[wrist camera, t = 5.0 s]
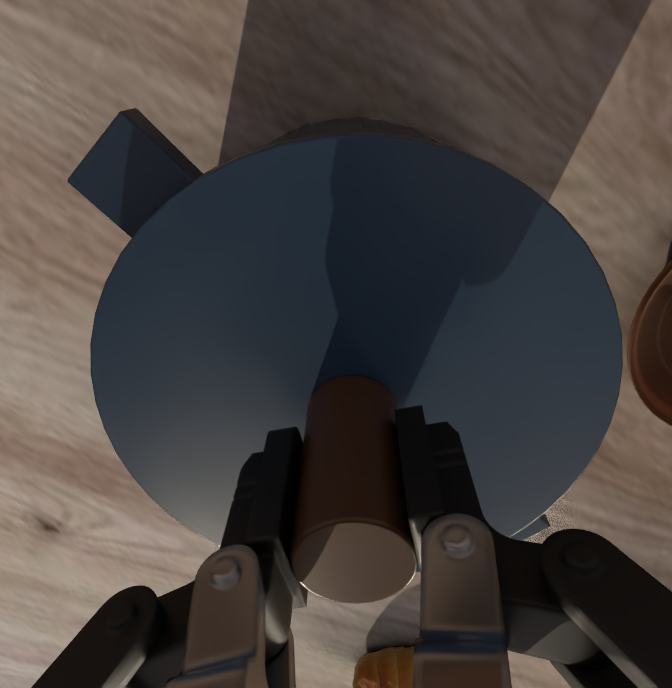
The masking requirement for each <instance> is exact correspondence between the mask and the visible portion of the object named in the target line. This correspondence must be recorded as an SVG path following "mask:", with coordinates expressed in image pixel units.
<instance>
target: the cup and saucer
mask: <svg viewBox="0 0 672 688" xmlns="http://www.w3.org/2000/svg"><path fill="white" fill-rule="evenodd" d="M627 361H628V369H629V373H630V377H631V380H632V382H633V385H634V388H635V390H636V392H637V394H638V395H639V397H640V399H641V400H642V402H643V403H644V404H645V406H646V407H647V408H648V409H649V410H650V411H651V412H652V413H653V414H654V415H655V416H657V417H658V418H659V419H661V420H662V421H664V422H665V423H667V424H669V425H671V426H672V260H671V261H670V262H669V263H668V265H667V266H666V267H665V268H664V269H663V270H662V272H661V273H660V274H659V275H658V277H657V278H656V279H655V281H654V282H653V283H652V285H651V286H650V288H649V289H648V291H647V293H646V294H645V296H644V297H643V299H642V301H641V303H640V305H639V307H638V309H637V312H636V314H635V317H634V319H633V322H632V326H631V329H630V333H629V339H628V346H627Z"/></svg>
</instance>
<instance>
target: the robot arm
mask: <svg viewBox="0 0 672 688" xmlns="http://www.w3.org/2000/svg"><path fill="white" fill-rule="evenodd" d="M394 412H395V420H396V428H397V435H398V443H399V451H400V459H401V467H402V474H403V482H404V490H405V498H406V505H407V513H408V520H409V525H410V529H411V533H412V538H413V542H414V546H415V551H416V555H417V559H418V563H419V568H420V572H421V599H420V634H419V638H416V640H415V644H414V654H413V685H412V688H512V685H511V677H510V669H509V661H508V653H507V650H509V651H513V652H517V653H521V654H525V655H530V656H534V657H538V658H542V659H547V660H550V662H551V663H552V665H553V666H554V667H555V668H556V670H557V671H558V672H559V673H560V674H561V676H562V677H563V678H564V679H565V680H566V681H567V683H568V684H569V685H570V686H571V687H572V688H672V592H671V591H670V590H669V589H668V588H666V587H665V586H664V585H663V584H661V583H660V582H659V581H658V580H656V579H655V578H654V577H653V576H652V575H650V574H649V573H648V572H647V571H645V570H644V569H643V568H642V567H640V566H639V565H638V564H637V563H635V562H634V561H633V560H632V559H630V558H629V557H628V556H627V555H625V554H624V553H623V552H622V551H620V550H619V549H618V548H617V547H616V546H614V545H613V544H612V543H611V542H609V541H608V540H606V539H605V538H603V537H602V536H600V535H598V534H595V533H593V532H590V531H586V530H581V529H566V530H561V531H558V532H555V533H553V534H551V535H550V536H549V537H547V538H546V539H545V541H544V542H543V544H540V543H533V542H526V541H520V540H515V539H512V538H509V537H507V536H505V535H502V534H501V533H499V532H498V531H496V530H495V529H494V528H492V527H491V526H490V525H489V523H488V522H487V521H486V519H485V518H484V516H483V513H482V510H481V507H480V503H479V500H478V497H477V493H476V490H475V486H474V483H473V480H472V476H471V473H470V469H469V466H468V463H467V459H466V456H465V452H464V449H463V446H462V442H461V439H460V435H459V433H458V432H457V431H456V430H455V429H454V428H453V427H452V426H451V425H450V424H449V423H448V422H447V421H445V422H439V423H433V424H427V425H426V422H425V417H424V412H423V407H422V405H419V406H413V407H407V408H401V409H395V410H394ZM302 448H303V440H302V437H301V434H300V432H299V429H298V428H297V427H296V426H295V427H290V428H284V429H278V430H272V431H269V432H268V434H267V438H266V442H265V447H264V452H258V453H252V454H251V456H250V457H249V458H248V460H247V461H246V462H245V464H244V465H243V467H242V468H241V470H240V474H239V478H238V482H237V488H236V489H235V493H234V497H233V498H234V501H232V504H231V508H230V512H229V516H228V519H227V523H226V527H225V531H224V535H223V538H222V542H221V546H220V549H219V550H217V551H216V552H214V553H213V554H212V555H210V556H209V557H208V558H207V559H206V560H205V561H204V562H203V564H202V565H201V566H200V568H199V570H198V572H197V574H196V577H195V580H194V581H193V582H191V583H189V584H187V585H185V586H183V587H180V588H178V589H176V590H173V591H171V592H169V593H167V594H164V595H162V596H160V597H157V596H156V594H155V593H154V591H153V590H152V589H150V588H149V587H146V586H132V587H129V588H126V589H124V590H122V591H120V592H118V593H117V594H115V595H114V596H112V597H111V598H110V599H109V600H107V601H106V602H105V603H104V604H103V605H102V607H101V608H100V609H99V610H98V611H97V612H96V613H95V615H94V616H93V617H92V618H91V619H90V620H89V622H88V623H87V624H86V625H85V626H84V627H83V628H82V630H81V631H80V632H79V633H78V634H77V635H76V637H75V638H74V639H73V640H72V641H71V642H70V643H69V645H68V646H67V647H66V648H65V649H64V650H63V652H62V653H61V654H60V655H59V656H58V657H57V659H56V660H55V661H54V662H53V663H52V664H51V665H50V667H49V668H48V669H47V670H46V671H45V672H44V674H43V675H42V676H41V677H40V678H39V679H38V680H37V682H36V683H35V684H34V685H33V686H32V687H31V688H125V687H126V688H296V681H295V657H294V638H293V633H292V630H291V628H290V623H291V613H292V608H301V607H306V605H307V593H308V590H307V589H306V588H305V587H303V586H302V585H301V584H300V583H299V581H298V580H297V579H296V577H295V576H294V574H293V571H292V568H291V565H290V559H289V557H290V547H291V539H292V531H293V523H294V514H295V506H296V498H297V490H298V481H299V473H300V465H301V456H302Z"/></svg>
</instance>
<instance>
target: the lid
mask: <svg viewBox="0 0 672 688" xmlns="http://www.w3.org/2000/svg"><path fill="white" fill-rule="evenodd" d="M622 367H623V360H622V333H621V328H620V323H619V318H618V313H617V309H616V304H615V301H614V298H613V295H612V293H611V290H610V288H609V285H608V283H607V280H606V277H605V275H604V272H603V270H602V269H601V267H600V265H599V264H598V262H597V260H596V259H595V257H594V255H593V254H592V252H591V250H590V249H589V247H588V245H587V244H586V242H585V241H584V240H583V238H582V237H581V236H580V235H579V234H578V233H577V231H576V230H575V229H574V228H573V227H572V225H571V224H570V223H569V222H568V221H567V220H566V218H565V217H564V216H563V215H562V214H561V213H560V212H559V211H558V210H557V209H555V208H554V207H553V206H552V205H551V204H550V203H548V202H547V201H546V200H545V199H544V198H542V197H541V196H540V195H539V194H538V193H537V192H535V191H534V190H533V189H532V188H531V187H529V186H528V185H526V184H525V183H523V182H521V181H520V180H518V179H517V178H515V177H513V176H512V175H510V174H508V173H507V172H505V171H503V170H502V169H500V168H499V167H497V166H495V165H494V164H492V163H490V162H488V161H485V160H483V159H480V158H478V157H476V156H473V155H471V154H469V153H466V152H464V151H461V150H459V149H457V148H454V147H451V146H447V145H444V144H440V143H436V142H432V141H428V140H424V139H420V138H416V137H412V136H404V135H395V134H386V133H377V132H341V133H323V134H317V135H311V136H305V137H300V138H294V139H288V140H283V141H280V142H277V143H274V144H271V145H268V146H265V147H261V148H258V149H255V150H252V151H249V152H246V153H243V154H241V155H239V156H237V157H235V158H233V159H231V160H229V161H227V162H225V163H223V164H221V165H219V166H217V167H215V168H213V169H211V170H209V171H207V172H206V173H204V174H203V175H201V176H200V177H199V178H197V179H196V180H194V181H193V182H191V183H190V184H189V185H187V186H186V187H184V188H183V189H181V190H180V191H179V192H177V193H176V194H174V195H173V196H172V197H170V198H169V199H168V200H167V201H166V202H165V203H164V204H163V205H162V206H161V207H160V208H159V209H158V210H157V211H156V212H155V213H154V214H153V215H152V216H150V217H149V218H148V219H147V220H146V221H145V222H144V223H143V224H142V225H141V227H140V228H139V229H138V231H137V232H136V233H135V235H134V236H133V237H132V239H131V240H130V241H129V243H128V244H127V245H126V247H125V248H124V249H123V251H122V252H121V254H120V255H119V257H118V259H117V261H116V263H115V265H114V267H113V269H112V271H111V273H110V275H109V276H108V278H107V280H106V282H105V285H104V288H103V291H102V294H101V297H100V300H99V303H98V306H97V309H96V312H95V318H94V325H93V331H92V338H91V377H92V383H93V389H94V395H95V401H96V405H97V408H98V411H99V414H100V417H101V420H102V423H103V426H104V429H105V431H106V433H107V435H108V437H109V439H110V441H111V443H112V445H113V447H114V449H115V451H116V453H117V455H118V456H119V458H120V459H121V461H122V462H123V464H124V465H125V467H126V468H127V470H128V471H129V473H130V474H131V476H132V477H133V478H134V479H135V480H136V481H137V483H138V484H139V485H140V486H141V487H142V488H143V490H144V491H145V492H146V493H147V494H148V495H149V496H150V497H151V498H152V499H153V500H154V501H155V502H156V503H157V504H158V505H159V506H160V507H162V508H163V509H164V510H165V511H166V512H167V513H168V514H169V515H171V516H172V517H173V518H175V519H176V520H177V521H179V522H180V523H181V524H183V525H184V526H186V527H187V528H188V529H190V530H191V531H193V532H194V533H196V534H198V535H200V536H201V537H203V538H205V539H206V540H208V541H210V542H211V543H213V544H215V545H217V546H219V547H220V546H221V542H222V538H223V535H224V531H225V527H226V523H227V519H228V516H229V512H230V508H231V504H232V501H234V498H233V497H234V493H235V489H236V488H237V482H238V478H239V474H240V470H241V468H242V467H243V465H244V464H245V462H246V461H247V460H248V458H249V457H250V456H251V454H252V453H258V452H264V447H265V442H266V438H267V434H268V432H269V431H272V430H278V429H284V428H290V427H295V426H296V427H297V428H298V429H299V432H300V434H301V437H302V440H303V448H302V456H301V465H300V473H299V481H298V490H297V498H296V506H295V514H294V523H293V531H292V539H291V547H290V557H289V559H290V565H291V568H292V571H293V574H294V576H295V577H296V579H297V580H298V581H299V583H300V584H301V585H302V586H303V587H305V588H306V589H307V590H309V591H310V592H312V593H314V594H315V595H318V596H320V597H322V598H325V599H328V600H332V601H335V602H341V603H369V602H374V601H378V600H382V599H385V598H388V597H390V596H392V595H394V594H396V593H398V592H399V591H401V590H402V589H403V588H405V587H406V586H407V585H408V584H409V583H410V582H411V580H412V579H413V577H414V575H415V573H416V572H420V568H419V563H418V559H417V555H416V551H415V546H414V542H413V538H412V533H411V529H410V525H409V520H408V513H407V505H406V498H405V490H404V482H403V474H402V467H401V459H400V451H399V443H398V435H397V428H396V420H395V412H394V410H395V409H401V408H407V407H413V406H419V405H422V407H423V412H424V417H425V422H426V425H427V424H433V423H439V422H445V421H447V422H448V423H449V424H450V425H451V426H452V427H453V428H454V429H455V430H456V431H457V432H458V433H459V435H460V439H461V442H462V446H463V449H464V452H465V456H466V459H467V463H468V466H469V469H470V473H471V476H472V480H473V483H474V486H475V490H476V493H477V497H478V500H479V503H480V507H481V510H482V513H483V516H484V518H485V519H486V521H487V522H488V523H489V525H490V526H491V527H492V528H494V529H495V530H496V531H498V532H499V533H501V534H502V535H505V536H507V537H511V536H512V535H514V534H516V533H517V532H519V531H521V530H522V529H524V528H525V527H527V526H528V525H529V524H531V523H532V522H533V521H535V520H536V519H537V518H539V517H540V516H541V515H543V514H544V513H545V512H546V511H547V510H549V509H550V508H551V507H552V506H553V505H554V504H555V503H556V502H557V501H558V500H559V499H560V498H561V497H562V496H563V495H565V494H566V492H567V491H568V490H569V489H570V488H571V486H572V485H573V484H574V483H575V482H576V480H577V479H578V478H579V477H580V476H581V475H582V473H583V472H584V471H585V469H586V467H587V466H588V464H589V463H590V461H591V460H592V458H593V457H594V455H595V453H596V452H597V450H598V449H599V447H600V445H601V442H602V440H603V438H604V436H605V434H606V432H607V429H608V427H609V425H610V423H611V420H612V416H613V413H614V410H615V406H616V403H617V399H618V396H619V390H620V382H621V375H622Z"/></svg>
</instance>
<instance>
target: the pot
mask: <svg viewBox="0 0 672 688" xmlns="http://www.w3.org/2000/svg"><path fill="white" fill-rule="evenodd" d="M341 132H377V133H386V134H395V135H404V136H412V137H416V138H420V139H424V140H428V141H432V142H436V141H434V140H433V139H431V138H429V137H428V136H426V135H424V134H423V133H421V132H420V131H418V130H416V129H414V128H410V127H405V126H402V125H398V124H394V123H390V122H386V121H382V120H373V119H368V118H363V117H361V118H360V117H357V118H348V119H334V120H328V121H323V122H317V123H312V124H306V125H303V126H301V127H299V128H297V129H295V130H293V131H291V132H289V133H287V134H285V135H283V136H281V137H279V138H277V139H275V140H273V141H272V142H270V143H268V144H266V145H264V146H262V147H265V146H268V145H271V144H274V143H277V142H280V141H283V140H288V139H294V138H300V137H305V136H311V135H317V134H323V133H341ZM436 143H438V142H436ZM260 148H261V147H260ZM201 175H203V173H202V172H201V171H200V170H199V169H198V168H197V167H196V166H195V165H194V164H193V163H192V162H190V161H189V160H188V159H187V158H186V157H185V156H184V155H183V154H182V153H181V152H180V151H179V150H178V149H177V148H176V147H175V146H174V145H173V144H172V143H171V142H170V141H169V140H168V139H167V138H166V137H165V136H164V135H163V134H162V133H161V132H160V131H159V130H158V129H157V128H156V127H155V126H154V125H153V124H152V123H151V122H150V121H149V120H148V119H147V118H146V117H145V116H144V115H143V114H142V113H141V112H140V111H139V110H138V109H136V108H133V109H129V110H124V111H121V112H119V113H118V115H117V116H116V117H115V119H114V120H113V121H112V123H111V124H110V125H109V126H108V128H107V129H106V130H105V132H104V133H103V134H102V135H101V137H100V138H99V139H98V141H97V142H96V143H95V145H94V146H93V147H92V148H91V150H90V151H89V152H88V154H87V155H86V156H85V157H84V159H83V160H82V161H81V163H80V164H79V165H78V167H77V168H76V169H75V170H74V172H73V173H72V174H71V176H70V177H69V178H68V183H69V184H71V185H72V186H73V187H74V188H75V189H76V190H78V191H79V192H80V193H81V194H82V195H83V196H84V197H86V198H87V199H88V200H89V201H90V202H91V203H92V204H94V205H95V206H96V207H97V208H98V209H99V210H100V211H102V212H103V213H104V214H105V215H106V216H107V217H109V218H110V219H111V220H112V221H113V222H114V223H115V224H117V225H118V226H119V227H120V228H121V229H122V230H123V231H125V232H126V233H127V234H128V235H129V236H130V237H131V238H132V237H133V236H134V235H135V233H136V232H137V231H138V229H139V228H140V227H141V225H142V224H143V223H144V222H145V221H146V220H147V219H148V218H149V217H150V216H152V215H153V214H154V213H155V212H156V211H157V210H158V209H159V208H160V207H161V206H162V205H163V204H164V203H165V202H166V201H167V200H168V199H169V198H170V197H172V196H173V195H174V194H176V193H177V192H179V191H180V190H181V189H183V188H184V187H186V186H187V185H189V184H190V183H191V182H193V181H194V180H196V179H197V178H199V177H200V176H201ZM549 527H550V524H549V522H548V520H547V517H546V515H545V513H544V514H543V515H541V516H540V517H539V518H537V519H536V520H535V521H533V522H532V523H531V524H529V525H528V526H527V527H525V528H524V529H522V530H521V531H519V532H517V533H516V534H514V535H512V536H511V537H509V538H512V539H515V540H520V541H525V540H527V539H528V538H530V537H532V536H534V535H536V534H538V533H540V532H542V531H544V530H546V529H548V528H549Z"/></svg>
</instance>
